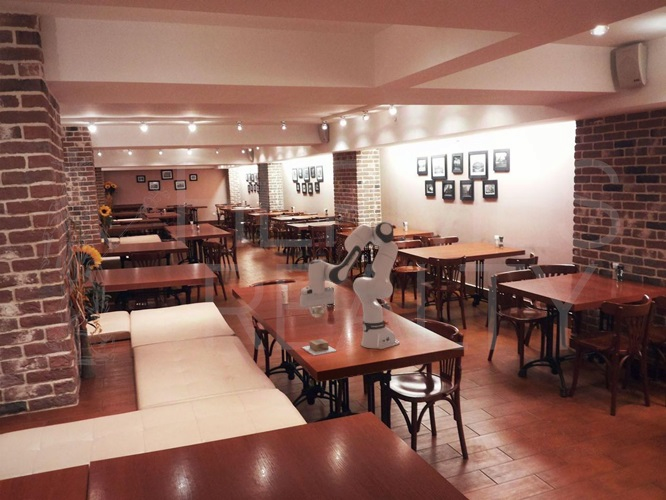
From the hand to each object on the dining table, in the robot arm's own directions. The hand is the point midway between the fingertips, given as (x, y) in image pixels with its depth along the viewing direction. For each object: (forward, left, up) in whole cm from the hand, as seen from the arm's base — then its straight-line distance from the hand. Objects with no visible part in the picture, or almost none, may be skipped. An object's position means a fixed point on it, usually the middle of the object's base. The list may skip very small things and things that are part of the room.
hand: (317, 313), depth 296 cm
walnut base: (0, +1, -21) cm, 21 cm away
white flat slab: (0, +1, -21) cm, 21 cm away
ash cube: (0, 0, -2) cm, 2 cm away
